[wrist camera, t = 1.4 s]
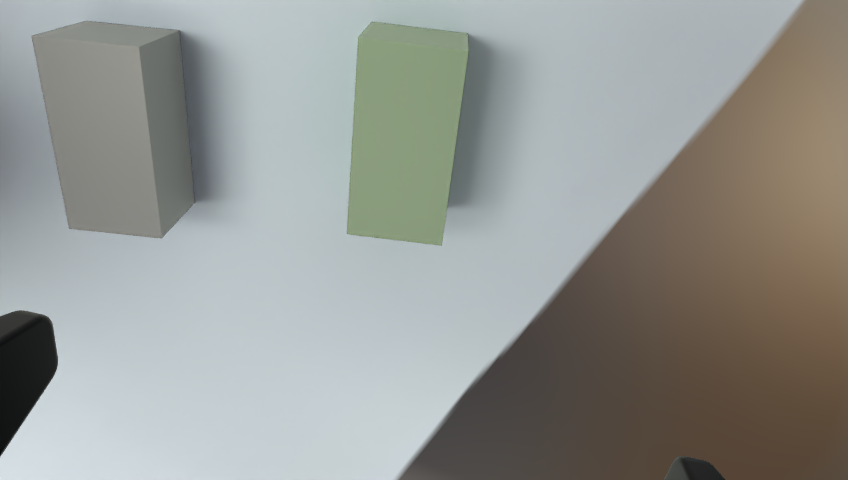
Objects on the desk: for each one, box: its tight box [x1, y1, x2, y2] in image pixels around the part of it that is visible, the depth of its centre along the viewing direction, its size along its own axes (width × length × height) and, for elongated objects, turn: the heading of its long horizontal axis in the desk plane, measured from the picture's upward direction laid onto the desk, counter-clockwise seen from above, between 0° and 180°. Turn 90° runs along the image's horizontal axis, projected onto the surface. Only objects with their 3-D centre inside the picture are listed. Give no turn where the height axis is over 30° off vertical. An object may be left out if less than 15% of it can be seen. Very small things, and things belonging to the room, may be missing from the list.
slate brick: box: [32, 21, 195, 238], centre depth 20 cm, size 6×3×3 cm, turn 175°
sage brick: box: [347, 22, 469, 246], centre depth 20 cm, size 6×3×3 cm, turn 174°
